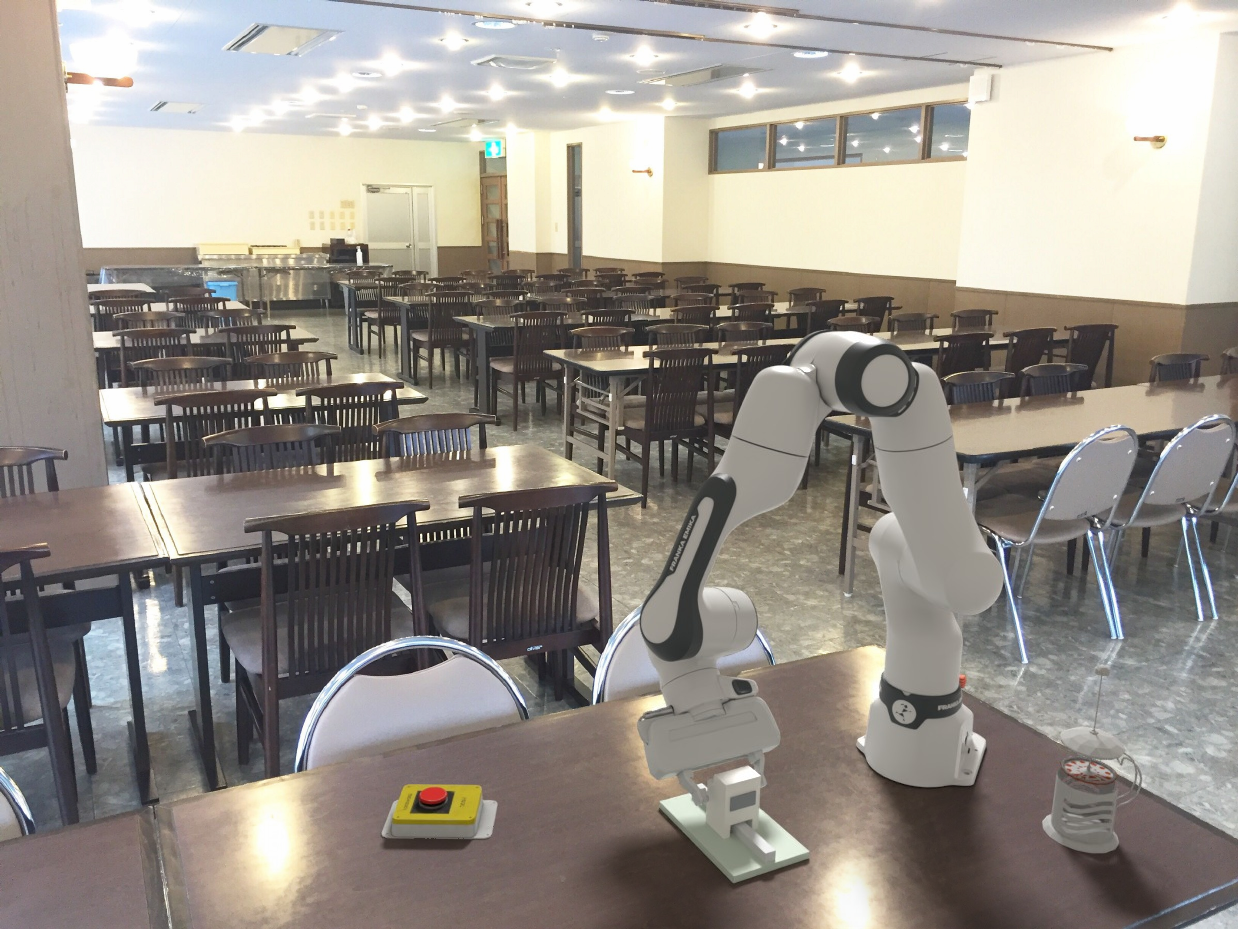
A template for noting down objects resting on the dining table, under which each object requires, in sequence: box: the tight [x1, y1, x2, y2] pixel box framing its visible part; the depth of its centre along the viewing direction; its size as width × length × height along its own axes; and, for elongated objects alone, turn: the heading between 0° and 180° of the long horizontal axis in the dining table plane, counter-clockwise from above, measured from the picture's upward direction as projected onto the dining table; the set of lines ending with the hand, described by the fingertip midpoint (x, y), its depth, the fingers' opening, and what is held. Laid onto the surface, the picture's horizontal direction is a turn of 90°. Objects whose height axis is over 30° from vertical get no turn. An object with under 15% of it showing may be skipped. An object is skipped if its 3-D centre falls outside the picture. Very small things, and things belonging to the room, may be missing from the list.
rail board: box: [658, 783, 810, 884], centre depth 136 cm, size 19×12×2 cm, turn 27°
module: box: [706, 765, 761, 839], centre depth 135 cm, size 5×6×8 cm
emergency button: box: [381, 783, 499, 840], centre depth 138 cm, size 9×4×15 cm
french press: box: [1041, 664, 1143, 854], centre depth 135 cm, size 10×12×25 cm
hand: (732, 795), depth 135 cm, fingers open, 8 cm apart
